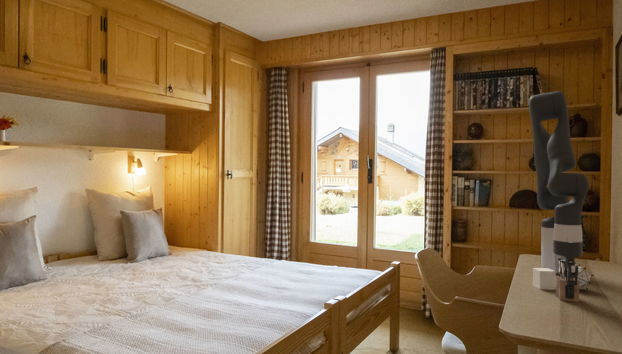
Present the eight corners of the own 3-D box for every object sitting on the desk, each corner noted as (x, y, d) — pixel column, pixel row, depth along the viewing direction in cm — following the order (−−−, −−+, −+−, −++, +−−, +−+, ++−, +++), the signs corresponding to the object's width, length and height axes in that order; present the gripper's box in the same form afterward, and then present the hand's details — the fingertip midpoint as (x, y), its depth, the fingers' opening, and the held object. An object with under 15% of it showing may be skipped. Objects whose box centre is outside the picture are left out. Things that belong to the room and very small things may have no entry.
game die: (584, 302, 140) (602, 281, 134) (557, 291, 142) (574, 270, 136) (580, 283, 147) (597, 263, 142) (555, 273, 149) (570, 252, 143)
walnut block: (556, 296, 133) (556, 276, 133) (574, 297, 132) (574, 277, 132) (559, 300, 129) (560, 280, 129) (579, 301, 127) (579, 281, 127)
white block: (532, 285, 146) (532, 267, 146) (548, 286, 146) (548, 268, 146) (539, 289, 141) (539, 271, 141) (555, 289, 141) (555, 271, 141)
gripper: (548, 235, 138) (548, 289, 138) (559, 241, 125) (558, 301, 125) (575, 237, 136) (575, 291, 136) (589, 243, 122) (588, 303, 122)
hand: (567, 295), depth 130 cm, fingers closed on walnut block, 5 cm apart
